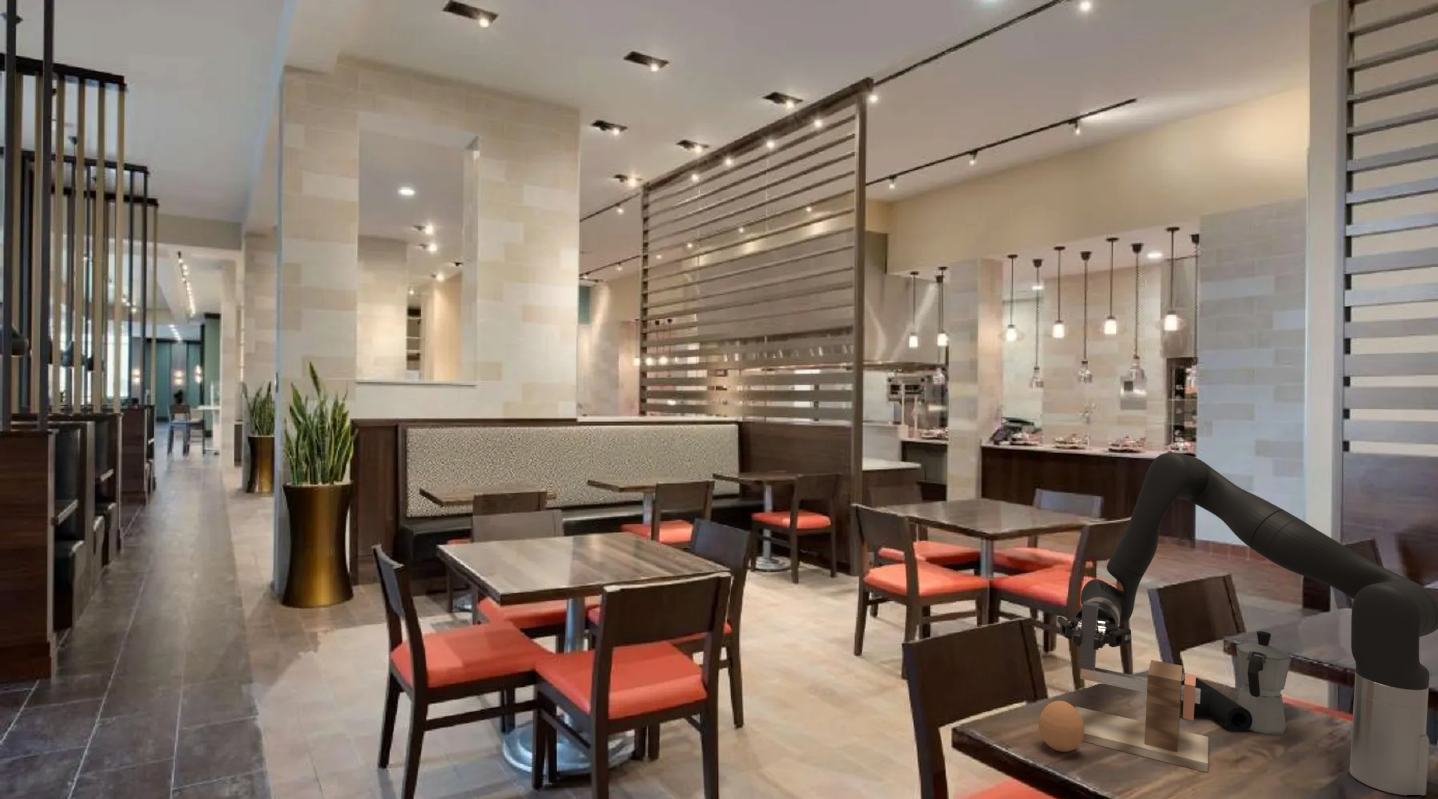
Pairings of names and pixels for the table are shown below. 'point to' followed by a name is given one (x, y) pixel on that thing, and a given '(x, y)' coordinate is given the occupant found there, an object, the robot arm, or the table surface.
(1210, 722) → the table surface
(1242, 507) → the robot arm
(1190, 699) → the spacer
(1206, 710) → the pipe connector
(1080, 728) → the egg
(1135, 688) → the gray l-shaped bracket
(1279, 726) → the coffee maker
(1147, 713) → the block
